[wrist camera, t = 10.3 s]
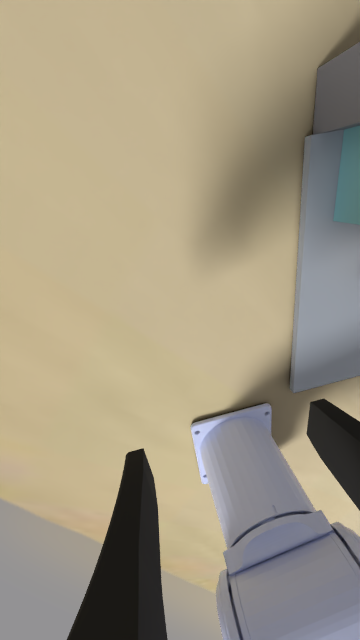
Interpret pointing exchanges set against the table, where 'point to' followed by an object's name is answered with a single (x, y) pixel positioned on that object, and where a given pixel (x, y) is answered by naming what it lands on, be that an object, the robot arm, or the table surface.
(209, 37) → the table surface
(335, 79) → the backstop wall
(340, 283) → the board
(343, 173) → the teal arch
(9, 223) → the table surface
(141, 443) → the table surface
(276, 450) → the robot arm
